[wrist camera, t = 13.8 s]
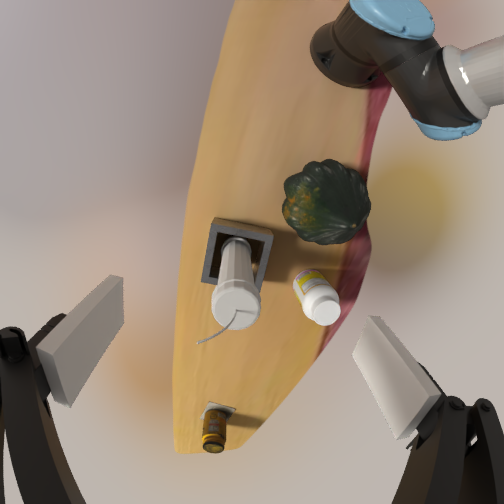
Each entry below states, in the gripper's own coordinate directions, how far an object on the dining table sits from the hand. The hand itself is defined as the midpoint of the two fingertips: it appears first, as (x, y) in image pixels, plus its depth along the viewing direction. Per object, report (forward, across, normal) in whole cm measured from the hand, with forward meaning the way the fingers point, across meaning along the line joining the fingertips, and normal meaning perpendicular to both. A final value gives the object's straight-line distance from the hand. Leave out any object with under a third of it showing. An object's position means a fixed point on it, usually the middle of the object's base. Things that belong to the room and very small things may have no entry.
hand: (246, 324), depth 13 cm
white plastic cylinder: (+38, 0, -7) cm, 39 cm away
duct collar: (+38, 0, -7) cm, 39 cm away
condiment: (+38, +2, -54) cm, 65 cm away
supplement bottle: (+38, +16, -12) cm, 43 cm away
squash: (+39, +13, +5) cm, 41 cm away
